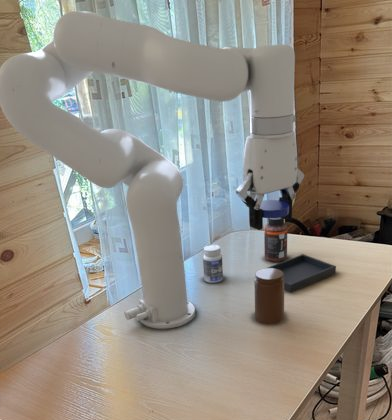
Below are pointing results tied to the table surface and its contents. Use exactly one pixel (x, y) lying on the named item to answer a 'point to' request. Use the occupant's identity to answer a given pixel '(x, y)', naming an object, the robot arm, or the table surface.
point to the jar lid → (274, 208)
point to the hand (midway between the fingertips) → (270, 222)
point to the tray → (303, 271)
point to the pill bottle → (212, 264)
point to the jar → (269, 295)
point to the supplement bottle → (275, 240)
